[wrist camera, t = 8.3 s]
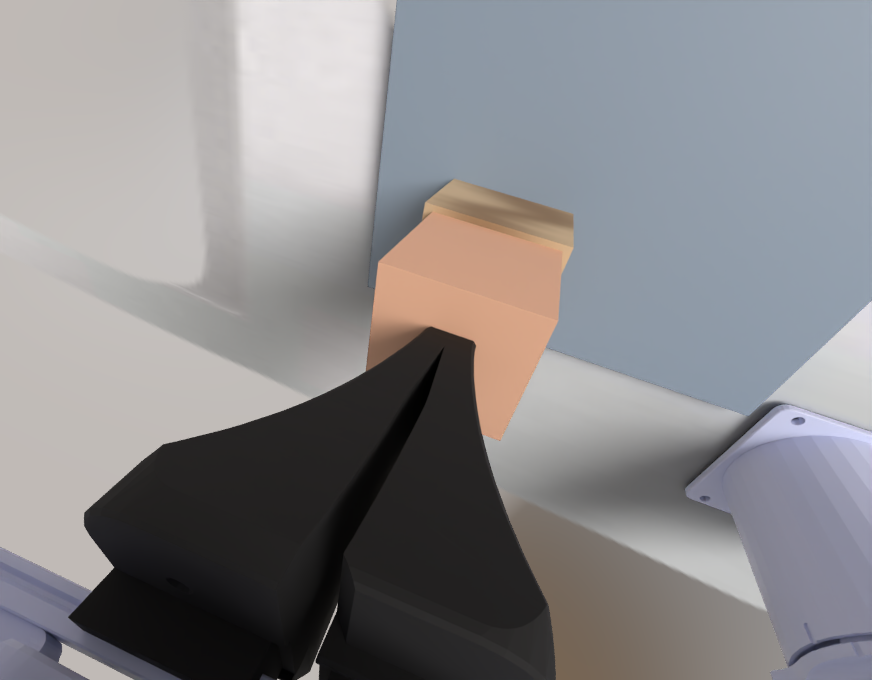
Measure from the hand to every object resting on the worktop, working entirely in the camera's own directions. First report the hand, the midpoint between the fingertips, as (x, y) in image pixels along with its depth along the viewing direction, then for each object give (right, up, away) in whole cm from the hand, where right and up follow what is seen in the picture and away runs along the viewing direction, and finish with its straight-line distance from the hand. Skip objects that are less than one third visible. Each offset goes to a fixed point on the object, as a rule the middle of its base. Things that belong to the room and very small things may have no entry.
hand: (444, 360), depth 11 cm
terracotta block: (+1, +2, +4) cm, 5 cm away
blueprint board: (+7, +7, +5) cm, 11 cm away
